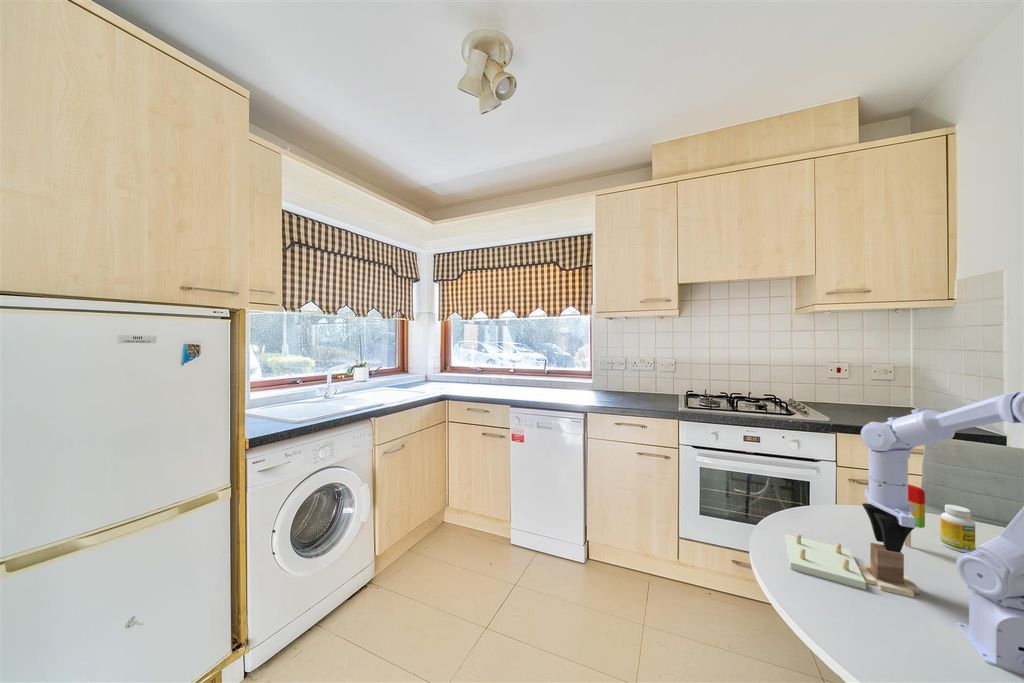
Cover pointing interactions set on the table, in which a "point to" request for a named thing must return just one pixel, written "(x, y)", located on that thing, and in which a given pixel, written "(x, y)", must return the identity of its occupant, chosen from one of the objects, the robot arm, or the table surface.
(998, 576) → the robot arm
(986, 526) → the table surface
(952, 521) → the supplement bottle
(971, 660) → the table surface
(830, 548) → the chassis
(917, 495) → the popsicle
